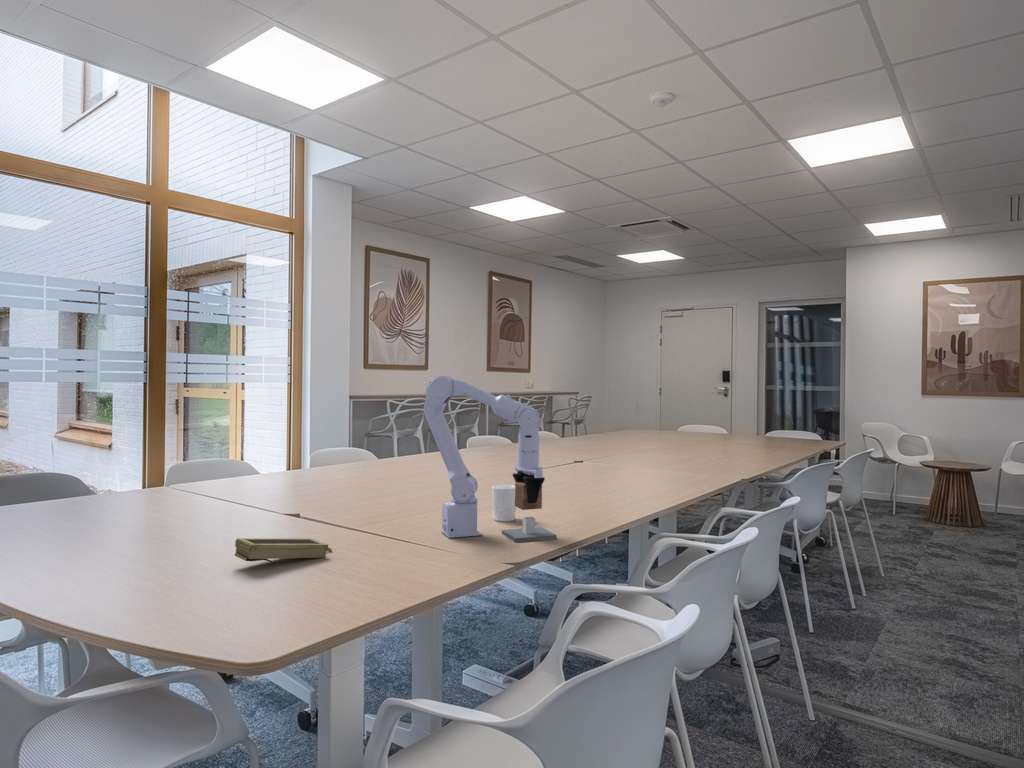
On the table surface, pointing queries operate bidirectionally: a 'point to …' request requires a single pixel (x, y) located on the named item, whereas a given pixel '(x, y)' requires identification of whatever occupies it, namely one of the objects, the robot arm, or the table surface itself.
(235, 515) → the table surface
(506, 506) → the white cup
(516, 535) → the post base
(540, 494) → the sliding lid crate
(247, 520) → the table surface
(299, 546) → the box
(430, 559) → the table surface
